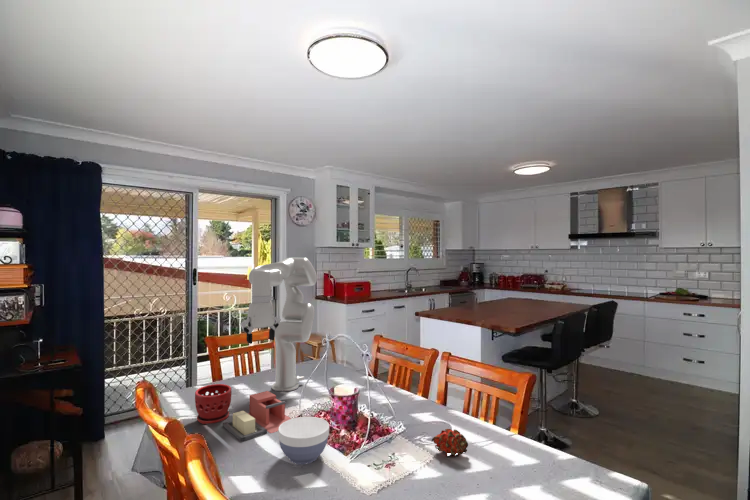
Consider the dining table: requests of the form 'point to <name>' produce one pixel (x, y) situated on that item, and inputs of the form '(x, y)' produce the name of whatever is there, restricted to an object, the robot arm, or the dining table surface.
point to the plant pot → (213, 403)
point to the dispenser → (267, 410)
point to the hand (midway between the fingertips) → (260, 341)
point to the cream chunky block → (243, 422)
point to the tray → (246, 437)
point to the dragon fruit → (450, 442)
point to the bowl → (303, 438)
